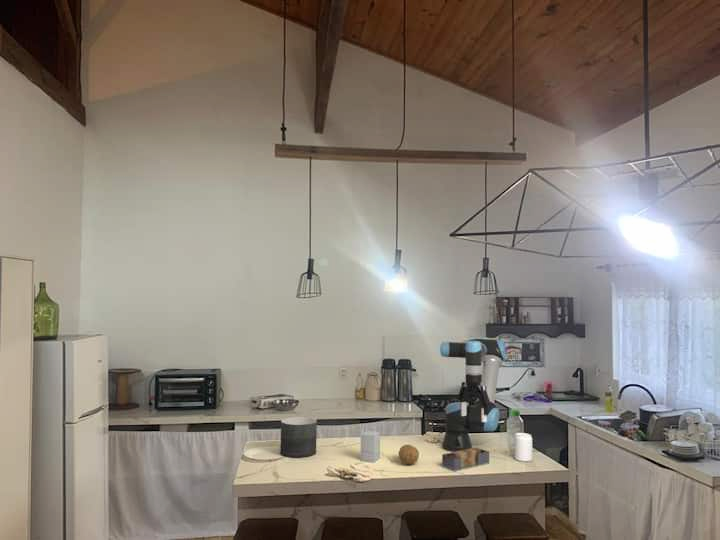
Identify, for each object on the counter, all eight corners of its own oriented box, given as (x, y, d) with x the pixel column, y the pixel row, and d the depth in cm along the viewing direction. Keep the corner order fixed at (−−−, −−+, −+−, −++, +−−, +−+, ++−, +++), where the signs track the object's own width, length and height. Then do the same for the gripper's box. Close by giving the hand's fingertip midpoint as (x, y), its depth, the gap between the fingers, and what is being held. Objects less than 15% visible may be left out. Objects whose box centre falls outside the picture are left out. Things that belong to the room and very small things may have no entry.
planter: (273, 455, 259) (274, 422, 260) (291, 446, 275) (292, 415, 276) (305, 459, 252) (306, 426, 253) (322, 450, 268) (322, 418, 269)
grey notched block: (454, 471, 237) (454, 458, 237) (442, 466, 244) (442, 454, 244) (489, 463, 249) (489, 451, 250) (476, 459, 256) (476, 447, 256)
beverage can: (533, 463, 251) (533, 437, 252) (515, 461, 253) (515, 436, 254) (531, 458, 259) (531, 433, 260) (514, 457, 261) (514, 432, 262)
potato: (415, 458, 256) (415, 441, 256) (421, 467, 242) (421, 450, 243) (395, 459, 255) (395, 442, 256) (400, 468, 241) (400, 450, 242)
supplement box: (380, 458, 255) (380, 432, 256) (374, 462, 249) (374, 435, 249) (366, 456, 258) (366, 430, 259) (360, 460, 252) (360, 433, 252)
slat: (455, 468, 240) (455, 454, 241) (450, 465, 243) (450, 452, 244) (480, 462, 249) (480, 449, 250) (475, 460, 252) (475, 447, 253)
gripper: (449, 370, 261) (450, 414, 260) (487, 378, 240) (487, 425, 239) (461, 369, 265) (461, 412, 264) (498, 376, 244) (499, 423, 243)
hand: (473, 418), depth 252 cm, fingers open, 13 cm apart
